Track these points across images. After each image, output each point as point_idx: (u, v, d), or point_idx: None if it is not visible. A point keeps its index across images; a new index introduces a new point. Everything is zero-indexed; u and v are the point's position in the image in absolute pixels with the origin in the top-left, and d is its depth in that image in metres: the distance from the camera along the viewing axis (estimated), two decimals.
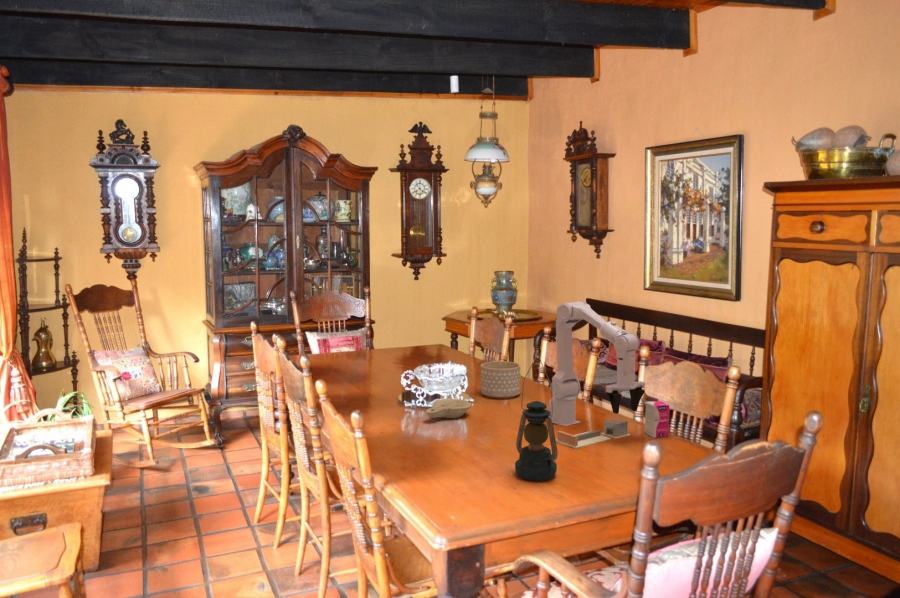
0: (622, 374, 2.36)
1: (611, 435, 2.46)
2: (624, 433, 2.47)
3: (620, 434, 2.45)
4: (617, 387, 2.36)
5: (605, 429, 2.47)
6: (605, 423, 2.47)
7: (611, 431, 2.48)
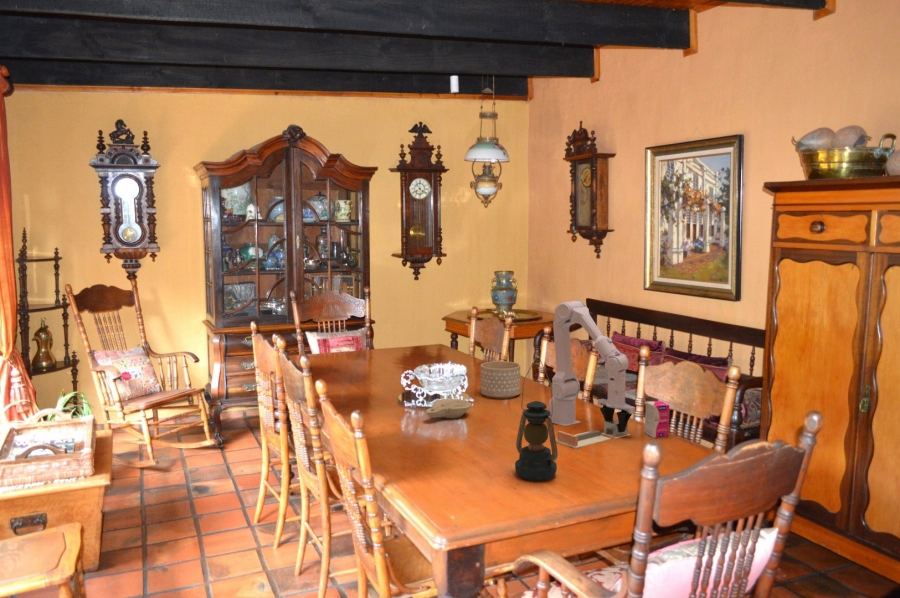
0: None
1: (611, 435, 2.46)
2: (624, 433, 2.47)
3: (620, 434, 2.45)
4: (602, 402, 2.49)
5: (605, 429, 2.47)
6: (605, 423, 2.47)
7: (611, 431, 2.48)
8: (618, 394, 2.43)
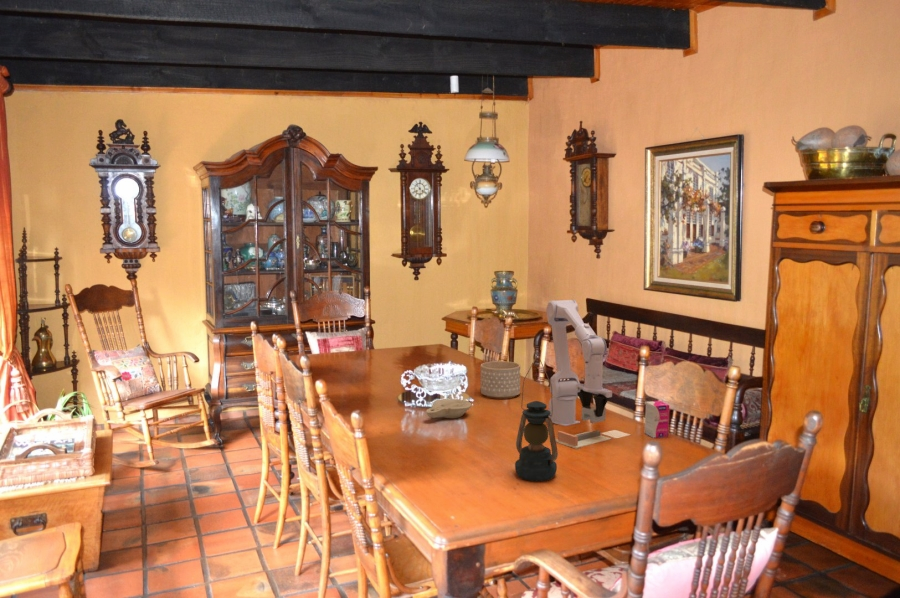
0: None
1: (611, 435, 2.46)
2: (602, 419, 2.42)
3: (598, 420, 2.41)
4: (580, 386, 2.45)
5: (583, 415, 2.43)
6: (583, 409, 2.43)
7: (589, 417, 2.44)
8: (595, 378, 2.39)
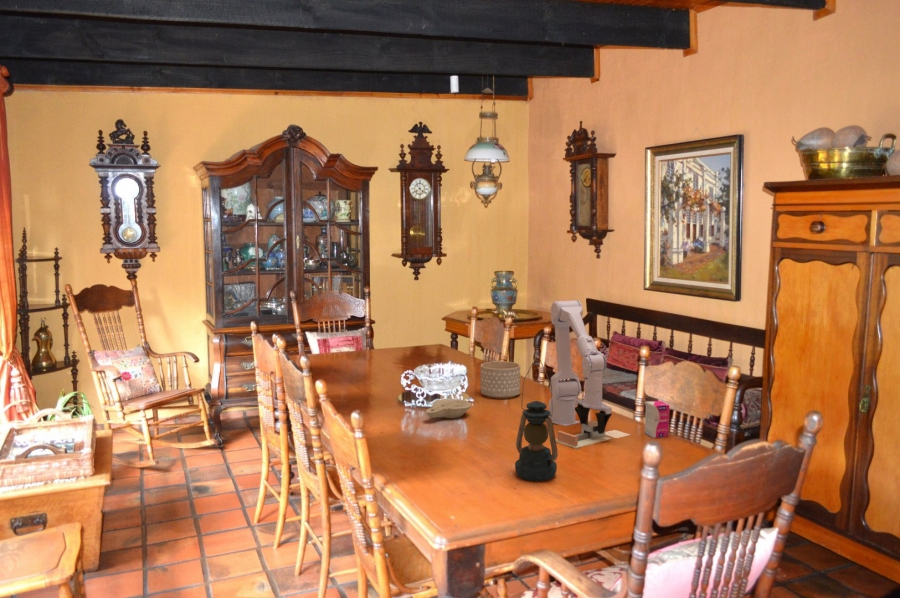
0: None
1: (611, 435, 2.46)
2: (602, 436, 2.43)
3: (597, 437, 2.42)
4: (579, 402, 2.46)
5: (582, 432, 2.44)
6: (582, 425, 2.44)
7: None
8: (595, 394, 2.40)
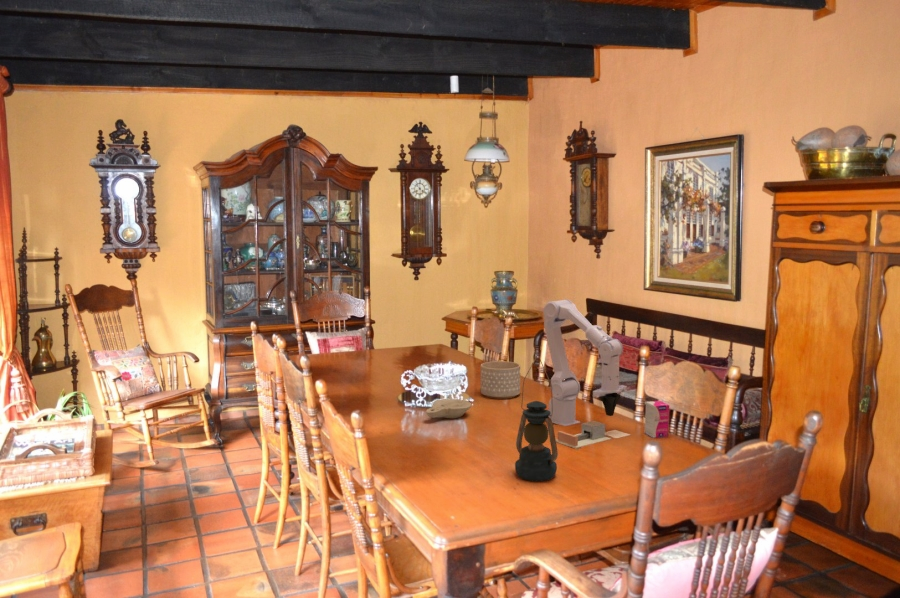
0: (608, 379, 2.44)
1: (611, 435, 2.46)
2: (602, 436, 2.43)
3: (597, 437, 2.42)
4: (604, 392, 2.43)
5: (582, 432, 2.44)
6: (582, 425, 2.44)
7: None
8: None
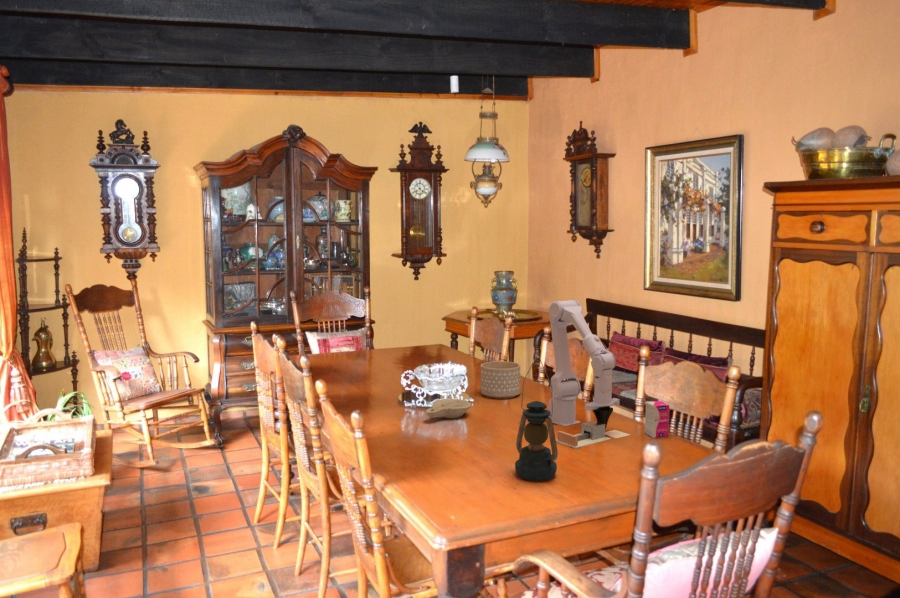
0: (600, 392, 2.43)
1: (611, 435, 2.46)
2: (602, 436, 2.43)
3: (597, 437, 2.42)
4: (596, 405, 2.42)
5: (582, 432, 2.44)
6: (582, 425, 2.44)
7: None
8: None
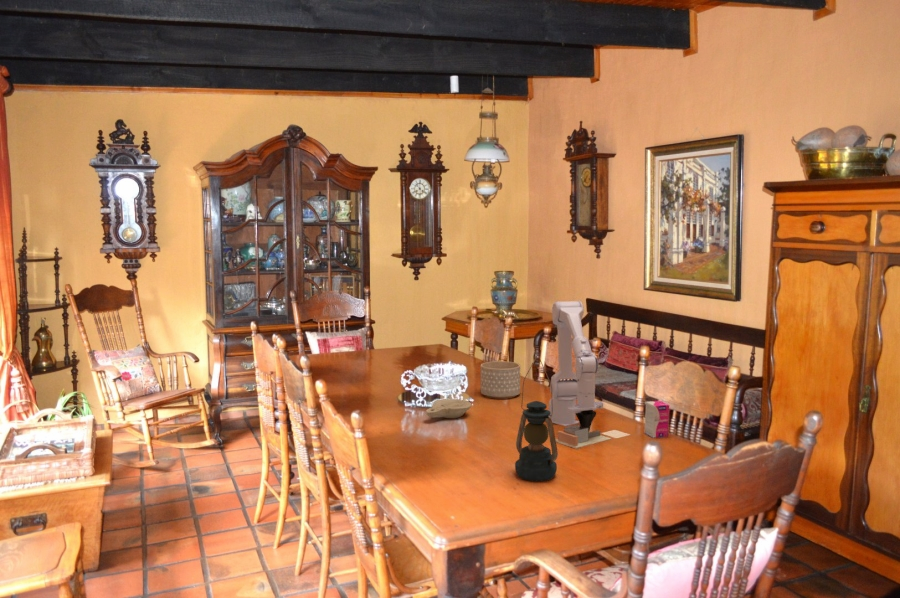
0: (583, 396, 2.38)
1: (611, 435, 2.46)
2: (585, 440, 2.38)
3: (580, 441, 2.37)
4: (579, 409, 2.37)
5: None
6: (565, 430, 2.39)
7: None
8: (594, 394, 2.40)
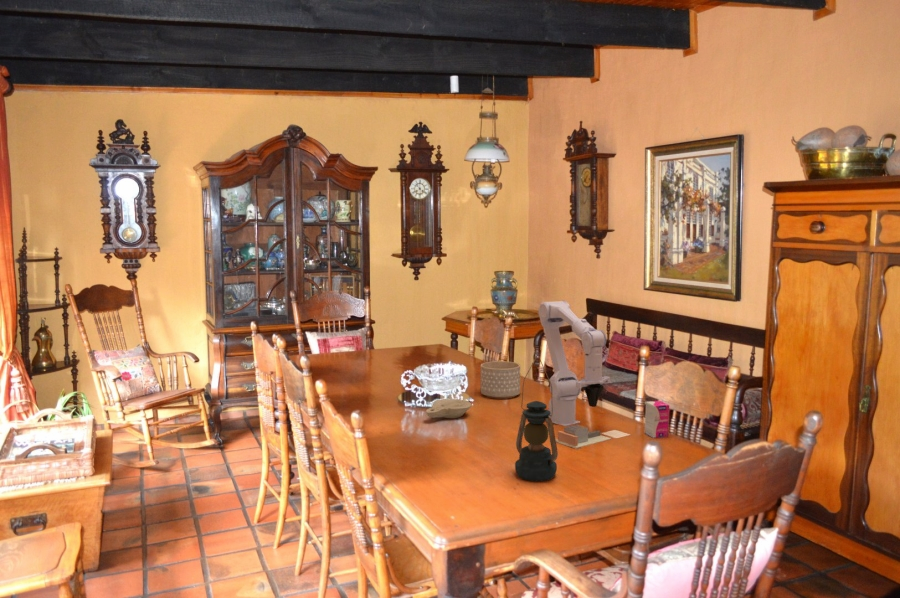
0: (591, 370, 2.43)
1: (611, 435, 2.46)
2: (584, 440, 2.38)
3: (580, 441, 2.37)
4: (586, 382, 2.42)
5: None
6: (565, 430, 2.39)
7: None
8: (601, 368, 2.46)
